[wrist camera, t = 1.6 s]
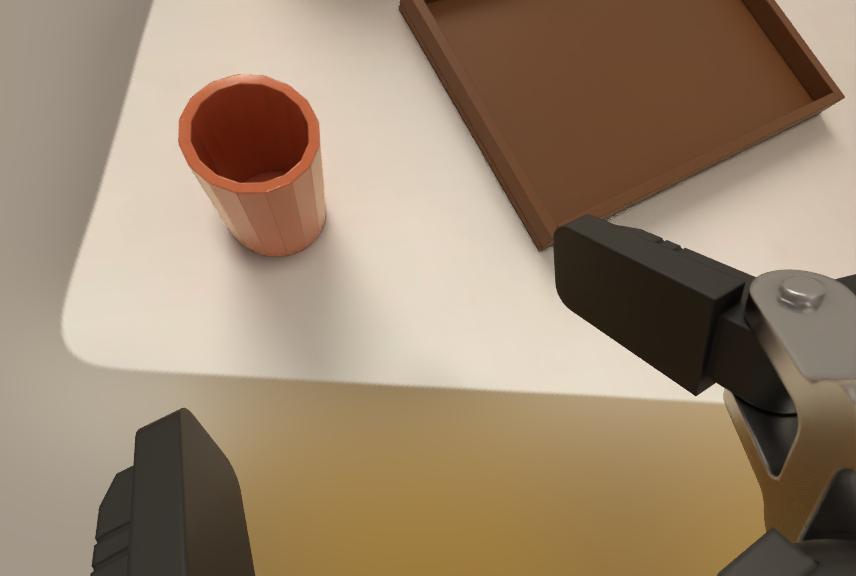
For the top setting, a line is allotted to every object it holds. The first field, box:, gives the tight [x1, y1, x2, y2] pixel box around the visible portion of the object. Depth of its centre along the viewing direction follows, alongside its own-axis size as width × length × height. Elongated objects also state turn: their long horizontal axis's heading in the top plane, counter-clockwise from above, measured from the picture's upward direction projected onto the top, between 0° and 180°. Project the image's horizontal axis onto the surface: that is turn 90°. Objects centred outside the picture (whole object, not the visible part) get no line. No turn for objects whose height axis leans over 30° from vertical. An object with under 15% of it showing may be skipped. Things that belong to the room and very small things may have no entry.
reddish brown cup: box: [178, 74, 326, 256], centre depth 24 cm, size 6×6×8 cm
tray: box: [399, 0, 845, 251], centre depth 35 cm, size 30×21×2 cm
